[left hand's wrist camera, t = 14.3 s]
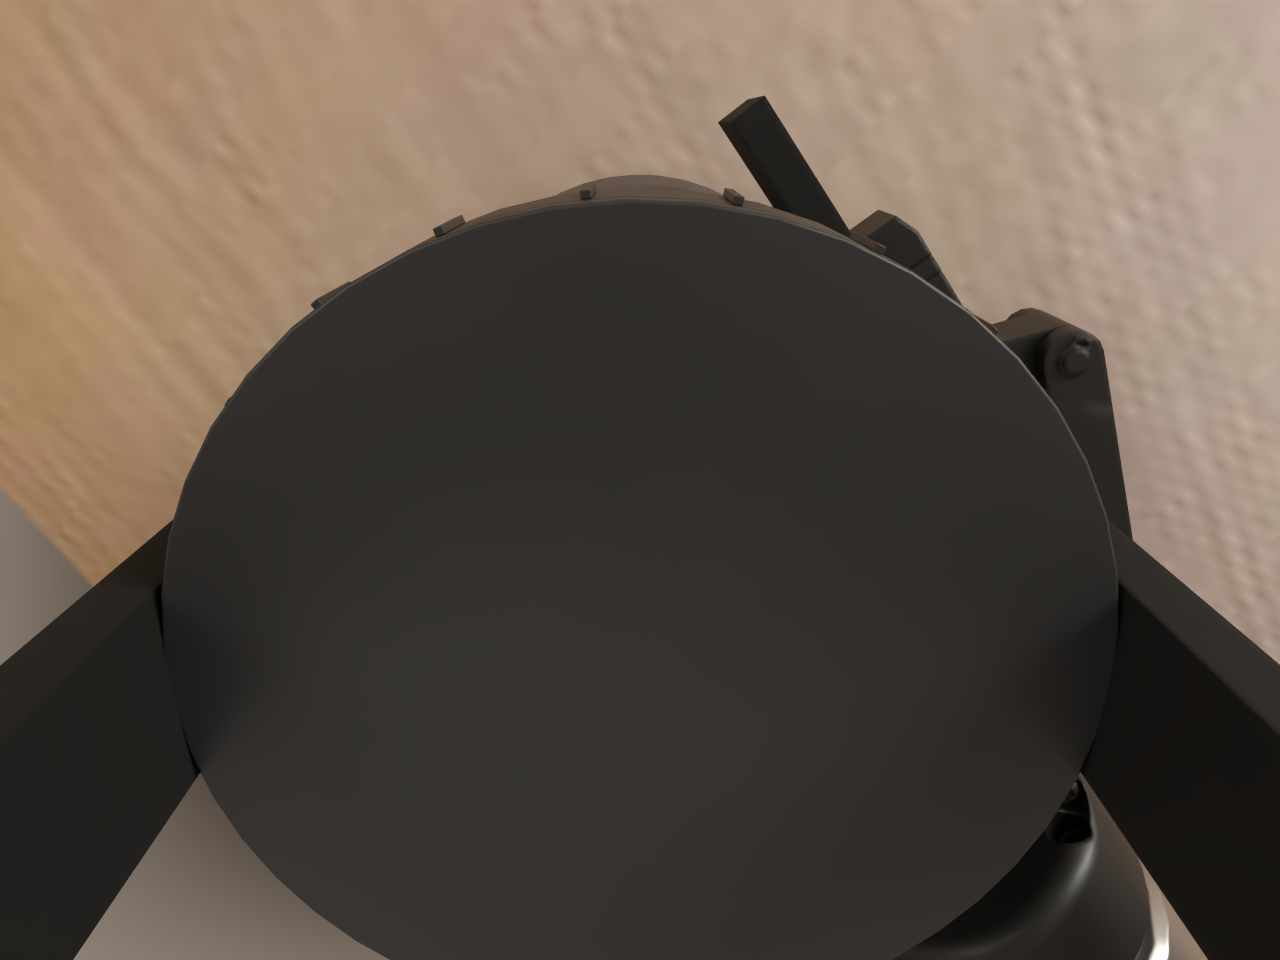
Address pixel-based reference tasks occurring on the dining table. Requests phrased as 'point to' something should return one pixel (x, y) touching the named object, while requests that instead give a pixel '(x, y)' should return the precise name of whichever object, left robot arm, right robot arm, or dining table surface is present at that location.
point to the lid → (640, 594)
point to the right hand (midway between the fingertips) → (520, 278)
